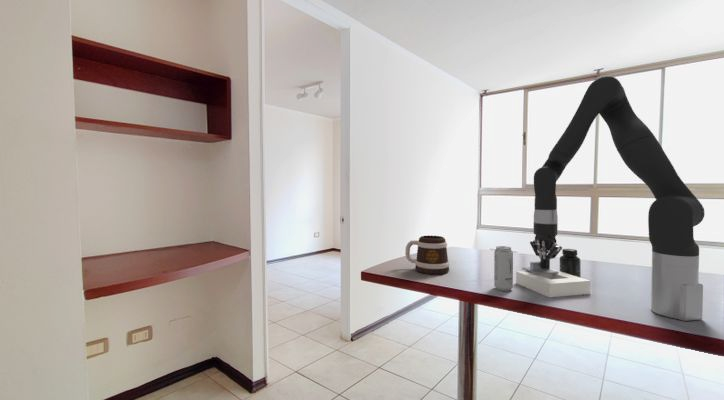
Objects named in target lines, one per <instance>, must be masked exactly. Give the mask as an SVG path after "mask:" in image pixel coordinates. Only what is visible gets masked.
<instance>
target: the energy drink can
mask: <svg viewBox="0 0 724 400" xmlns="http://www.w3.org/2000/svg"><path fill="white" fill-rule="evenodd" d="M493 253H494V255H493V257H494V261H493V262H494V263H493V264H494V265H493V267H494V269H493V270H494V271H493V274H494V275H493V276H494V278H493V281H494V284H493V285H494V287H495V289H496V290H498V291H501V292H511V291H512V289H513V287H514V286H513V285H514V252H513V249H512V247H511V246H508V245H507V246H506V245H498V246H495V249H494V252H493Z"/></svg>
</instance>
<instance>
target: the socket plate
mask: <svg viewBox="0 0 724 400" xmlns="http://www.w3.org/2000/svg"><path fill="white" fill-rule="evenodd" d="M550 269H551V268H550ZM551 270H554V271H557V272H559V274H545V275H537V274H535V273H532V272H529V271H526V270H519V271H518V270H517V271H516V272H515V284H517V285H519V286H521V287H525V288H526V289H528V290H531V291H533V292H536V293H538V294H541V295H543V296H545V297H547V298H559V297H570V296H581V295H583V294H584V295H591V280H589V279H586V278H582V277H581V278H580V277H577V276H573V275H570V274H567V273H564V272H560V270H557V269H554V268H552V269H551Z"/></svg>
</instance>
